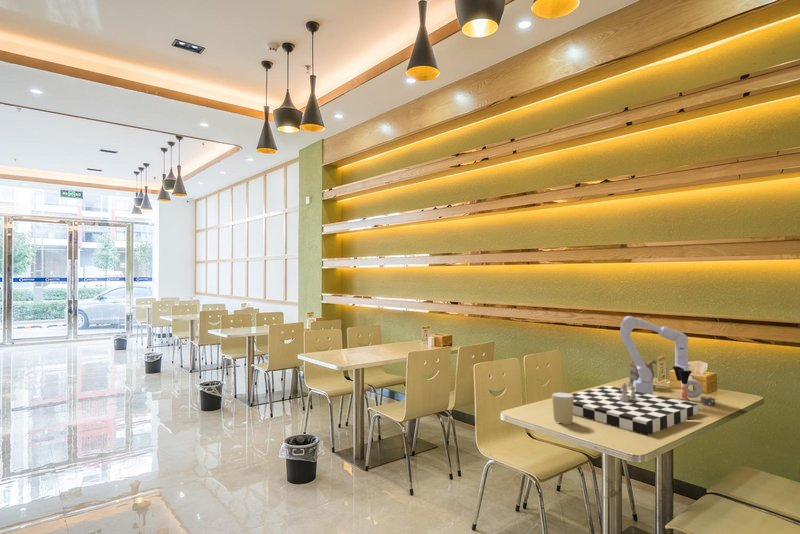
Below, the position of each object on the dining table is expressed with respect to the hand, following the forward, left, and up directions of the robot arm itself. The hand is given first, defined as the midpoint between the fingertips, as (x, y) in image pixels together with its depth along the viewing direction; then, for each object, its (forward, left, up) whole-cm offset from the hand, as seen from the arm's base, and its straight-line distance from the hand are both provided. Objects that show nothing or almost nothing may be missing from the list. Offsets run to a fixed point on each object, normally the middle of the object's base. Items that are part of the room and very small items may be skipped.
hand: (682, 382), depth 236 cm
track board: (0, -9, -10) cm, 13 cm away
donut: (+7, +9, -10) cm, 15 cm away
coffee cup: (-63, -50, -10) cm, 81 cm away
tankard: (-10, +32, -10) cm, 35 cm away
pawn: (+1, -1, -8) cm, 9 cm away
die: (+8, -9, -10) cm, 16 cm away
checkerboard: (-34, -29, -10) cm, 46 cm away
